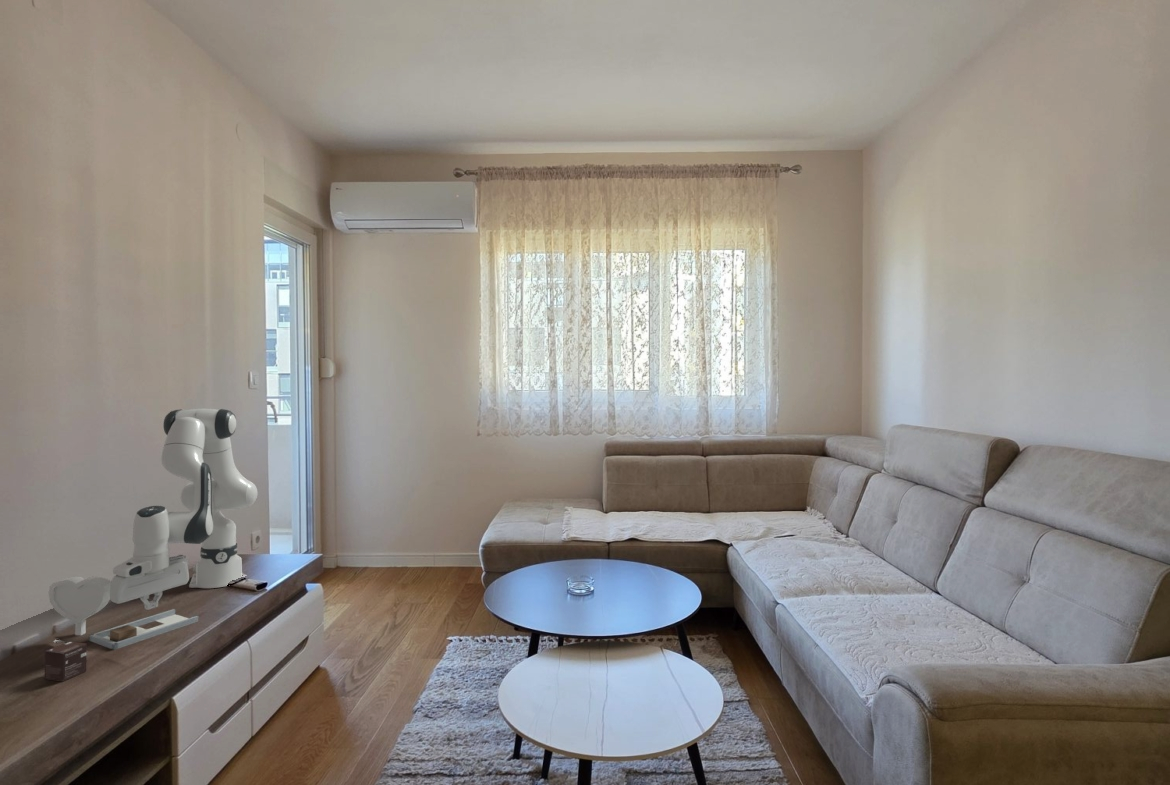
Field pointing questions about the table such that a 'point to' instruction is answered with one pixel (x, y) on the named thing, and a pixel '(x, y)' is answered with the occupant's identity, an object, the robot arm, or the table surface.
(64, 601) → the heart sculpture
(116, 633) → the walnut block
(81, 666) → the box
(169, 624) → the track
